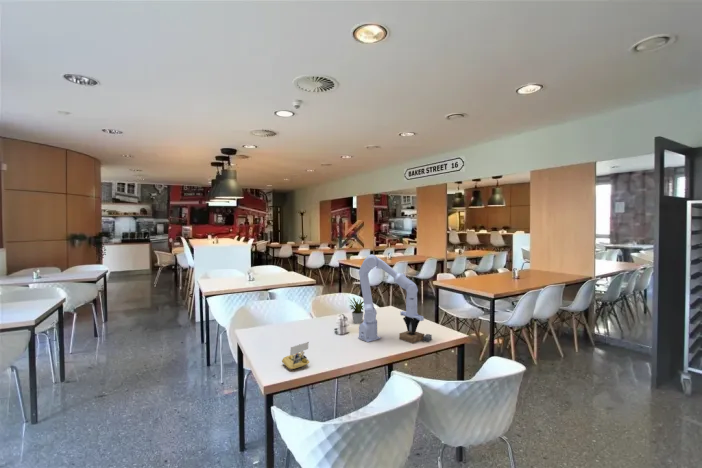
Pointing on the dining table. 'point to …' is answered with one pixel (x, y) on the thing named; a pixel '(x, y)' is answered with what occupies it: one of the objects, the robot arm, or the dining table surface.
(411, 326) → the round bit
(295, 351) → the yellow card holder
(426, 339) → the square bar
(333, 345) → the dining table surface
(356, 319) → the house plant
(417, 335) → the socket block
